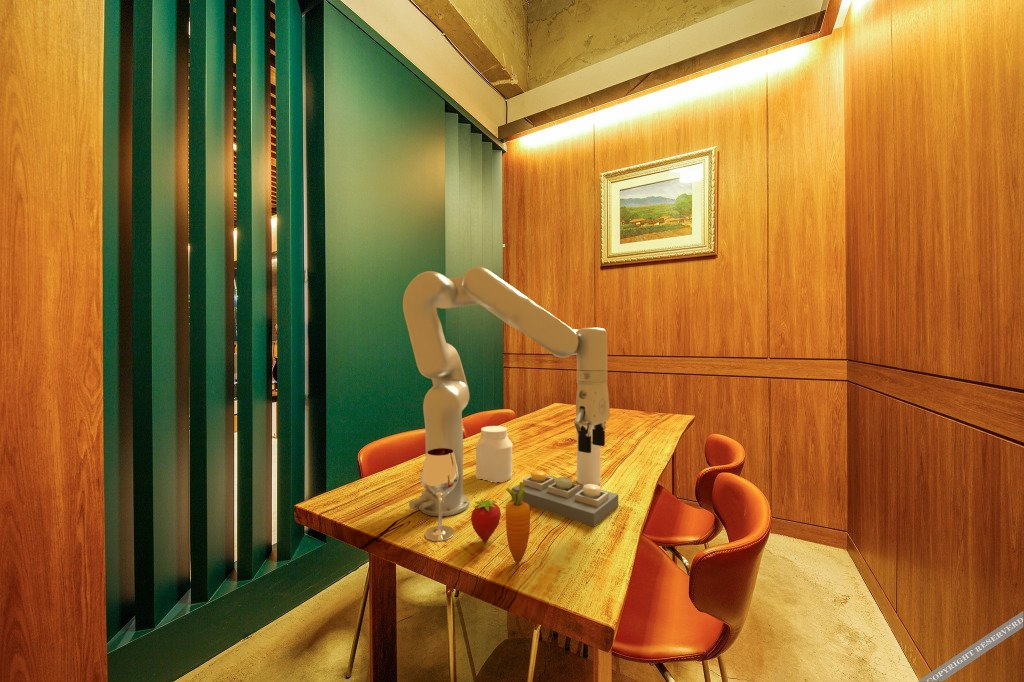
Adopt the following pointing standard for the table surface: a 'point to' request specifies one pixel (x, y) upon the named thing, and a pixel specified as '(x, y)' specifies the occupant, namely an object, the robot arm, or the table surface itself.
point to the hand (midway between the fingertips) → (591, 447)
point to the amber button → (538, 476)
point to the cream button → (591, 490)
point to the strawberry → (485, 518)
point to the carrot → (517, 524)
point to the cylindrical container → (589, 464)
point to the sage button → (563, 482)
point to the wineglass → (440, 485)
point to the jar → (494, 455)
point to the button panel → (568, 500)
